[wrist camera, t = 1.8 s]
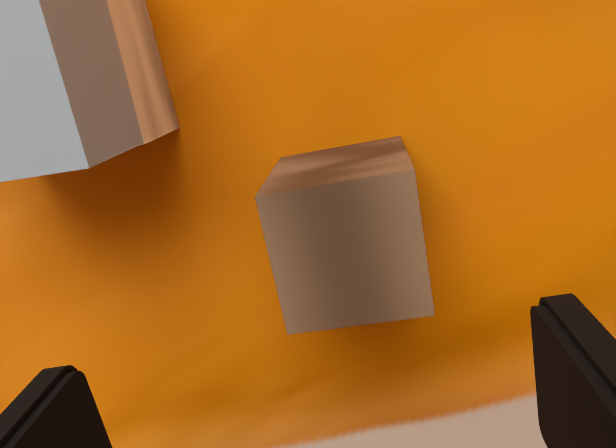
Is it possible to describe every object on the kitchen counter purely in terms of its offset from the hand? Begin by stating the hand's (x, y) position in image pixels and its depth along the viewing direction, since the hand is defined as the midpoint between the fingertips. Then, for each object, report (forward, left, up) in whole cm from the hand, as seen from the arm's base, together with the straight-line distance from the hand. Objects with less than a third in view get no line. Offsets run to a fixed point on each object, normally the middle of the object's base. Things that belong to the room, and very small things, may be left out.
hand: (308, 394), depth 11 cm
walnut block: (-1, 0, -13) cm, 13 cm away
